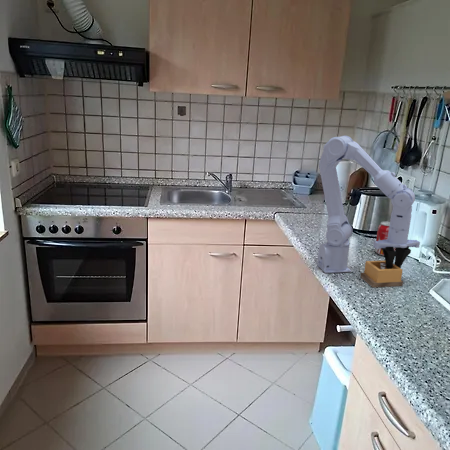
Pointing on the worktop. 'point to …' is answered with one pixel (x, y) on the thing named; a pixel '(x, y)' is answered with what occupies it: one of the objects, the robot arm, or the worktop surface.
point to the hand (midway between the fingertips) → (392, 269)
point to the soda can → (382, 235)
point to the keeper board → (374, 284)
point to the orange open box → (382, 272)
